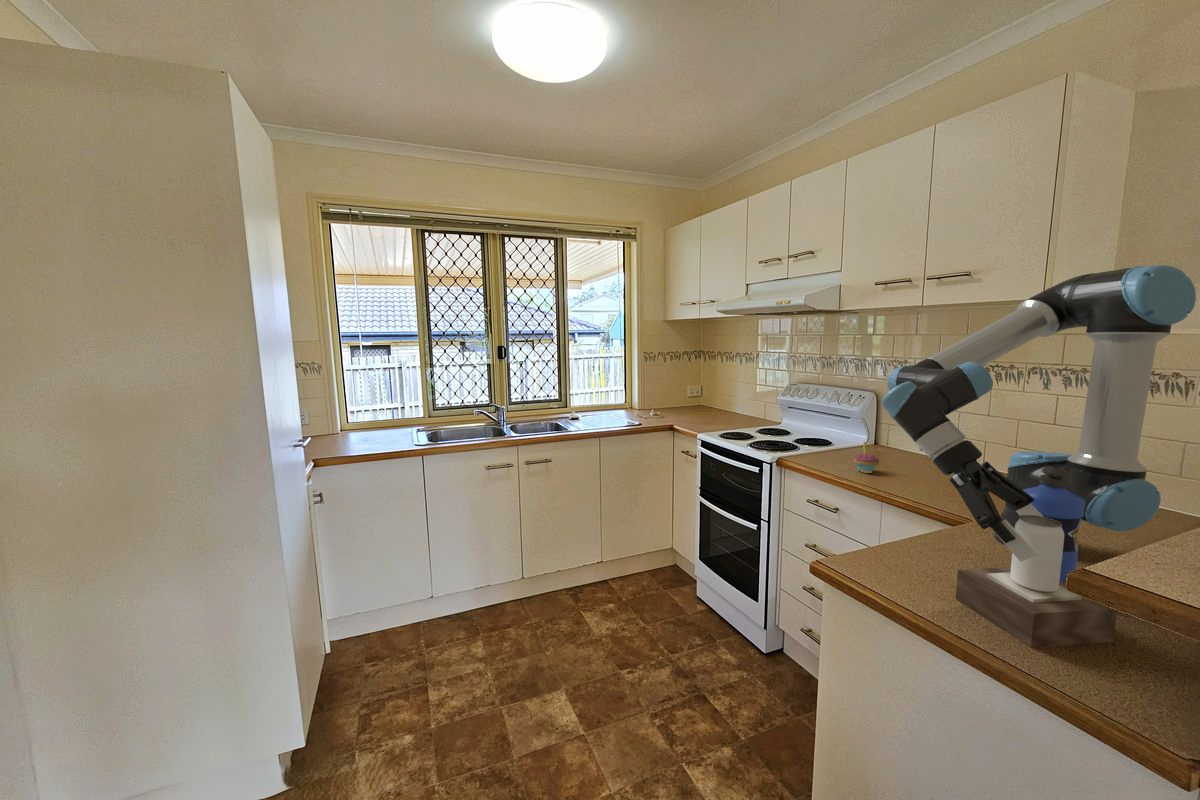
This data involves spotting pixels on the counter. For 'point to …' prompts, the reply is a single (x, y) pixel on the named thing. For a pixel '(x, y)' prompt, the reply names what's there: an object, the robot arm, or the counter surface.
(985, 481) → the robot arm
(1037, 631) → the riser
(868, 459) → the cupcake
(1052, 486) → the water bottle
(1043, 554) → the can
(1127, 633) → the counter surface
